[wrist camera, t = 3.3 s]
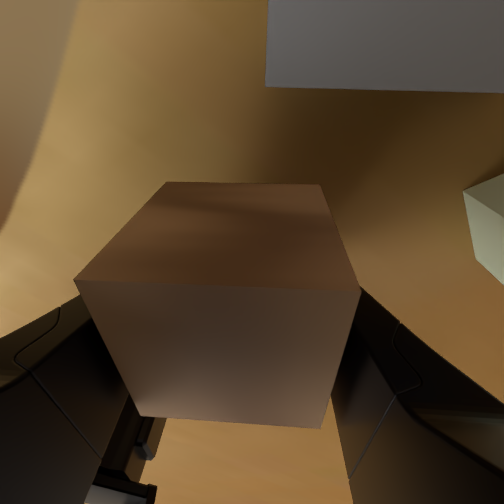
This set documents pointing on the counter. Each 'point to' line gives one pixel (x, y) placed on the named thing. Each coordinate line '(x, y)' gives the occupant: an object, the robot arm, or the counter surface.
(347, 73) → the grey square block
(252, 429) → the counter surface
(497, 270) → the sage block
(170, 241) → the walnut cube
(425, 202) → the counter surface
